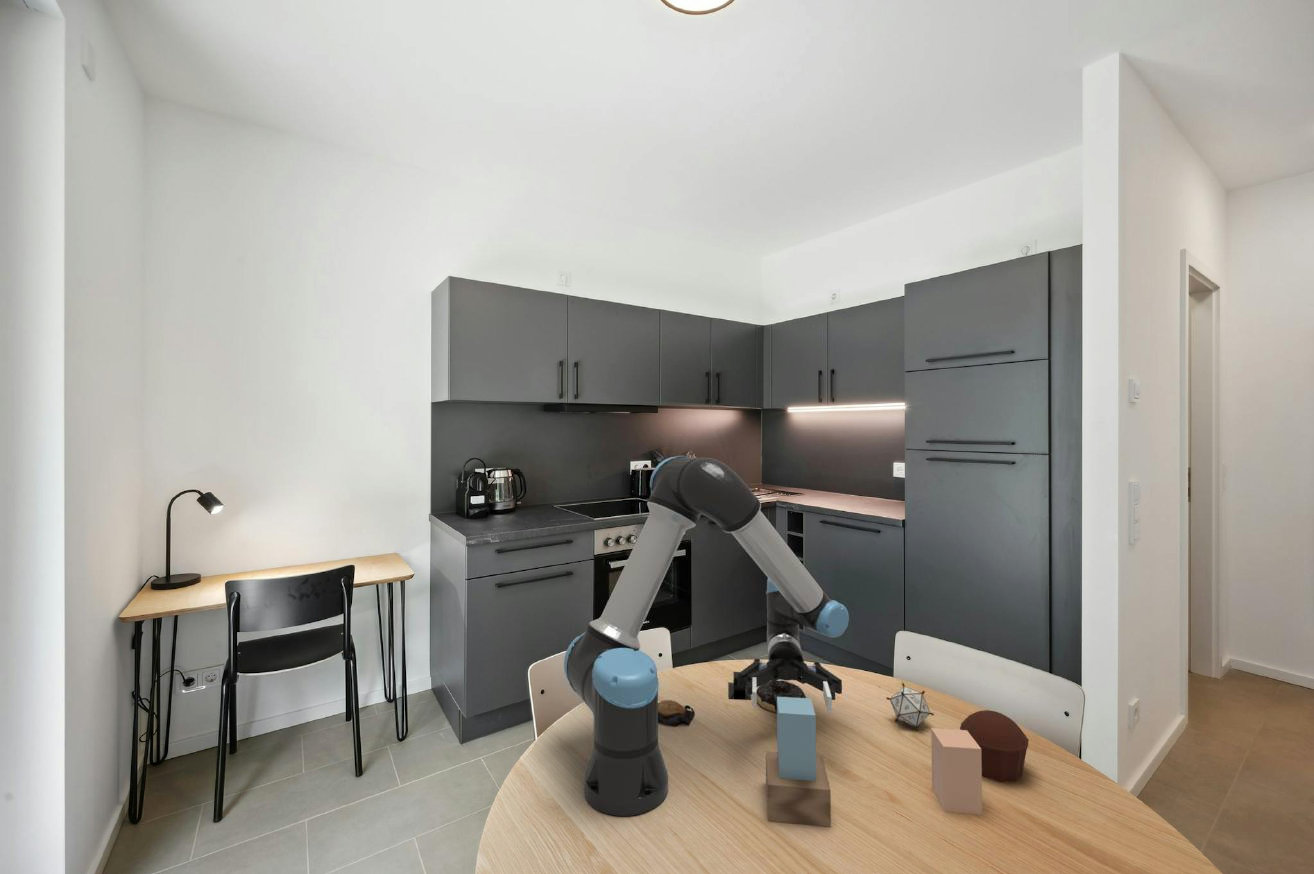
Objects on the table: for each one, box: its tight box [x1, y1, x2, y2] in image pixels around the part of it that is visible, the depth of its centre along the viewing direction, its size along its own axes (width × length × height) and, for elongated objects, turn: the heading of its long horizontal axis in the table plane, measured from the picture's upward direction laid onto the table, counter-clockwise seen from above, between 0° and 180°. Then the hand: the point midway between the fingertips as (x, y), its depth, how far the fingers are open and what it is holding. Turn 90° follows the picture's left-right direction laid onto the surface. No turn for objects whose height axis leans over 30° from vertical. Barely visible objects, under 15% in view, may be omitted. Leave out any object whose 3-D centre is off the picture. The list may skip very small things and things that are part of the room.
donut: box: [756, 680, 807, 714], centre depth 134 cm, size 11×12×4 cm
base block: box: [765, 750, 832, 828], centre depth 97 cm, size 10×10×6 cm
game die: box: [885, 682, 935, 732], centre depth 123 cm, size 9×8×10 cm
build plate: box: [727, 671, 752, 701], centre depth 140 cm, size 12×7×5 cm, turn 173°
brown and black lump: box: [658, 699, 696, 728], centre depth 128 cm, size 11×8×4 cm
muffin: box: [959, 709, 1029, 783], centre depth 107 cm, size 12×11×10 cm
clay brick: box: [930, 727, 983, 816], centre depth 97 cm, size 6×6×11 cm
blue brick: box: [776, 697, 817, 781], centre depth 97 cm, size 6×6×11 cm
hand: (791, 701), depth 104 cm, fingers open, 13 cm apart
